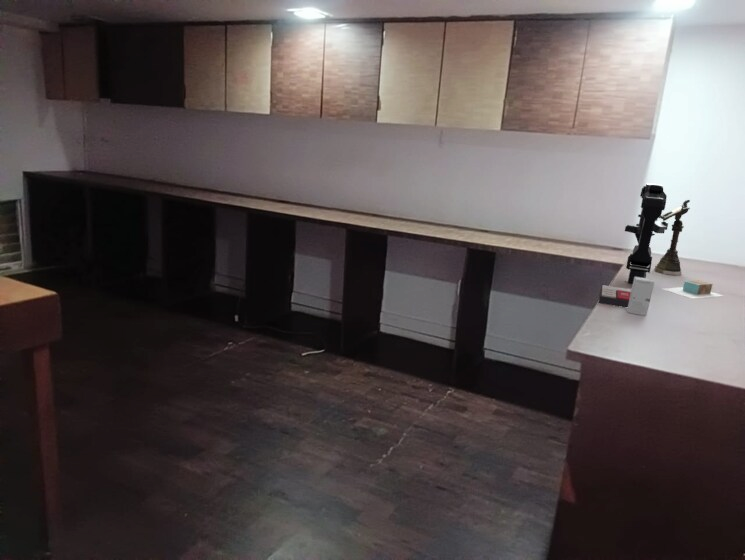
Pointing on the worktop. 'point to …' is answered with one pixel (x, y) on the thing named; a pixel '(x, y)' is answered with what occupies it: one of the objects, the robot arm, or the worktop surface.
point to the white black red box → (614, 296)
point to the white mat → (690, 295)
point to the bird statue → (672, 243)
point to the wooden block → (697, 287)
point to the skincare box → (640, 295)
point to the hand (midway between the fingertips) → (641, 248)
